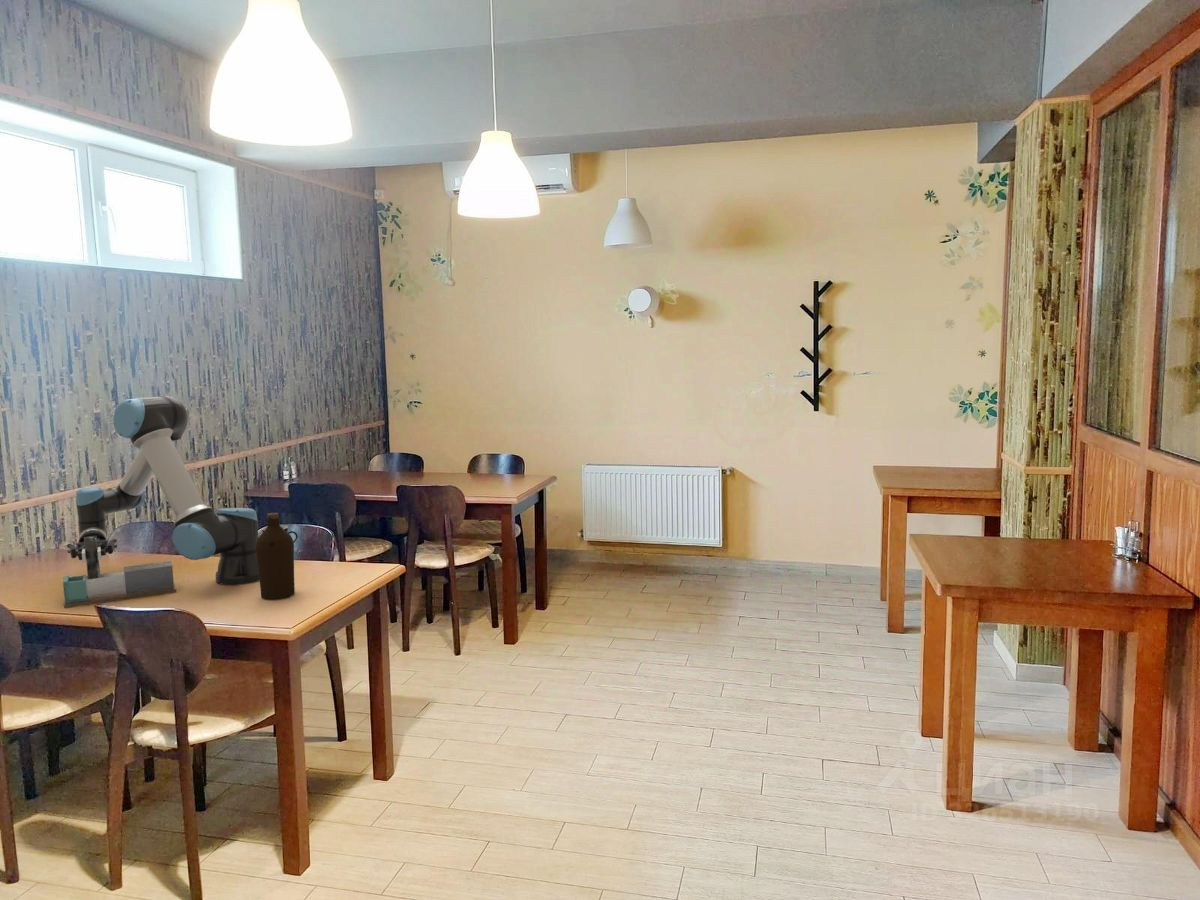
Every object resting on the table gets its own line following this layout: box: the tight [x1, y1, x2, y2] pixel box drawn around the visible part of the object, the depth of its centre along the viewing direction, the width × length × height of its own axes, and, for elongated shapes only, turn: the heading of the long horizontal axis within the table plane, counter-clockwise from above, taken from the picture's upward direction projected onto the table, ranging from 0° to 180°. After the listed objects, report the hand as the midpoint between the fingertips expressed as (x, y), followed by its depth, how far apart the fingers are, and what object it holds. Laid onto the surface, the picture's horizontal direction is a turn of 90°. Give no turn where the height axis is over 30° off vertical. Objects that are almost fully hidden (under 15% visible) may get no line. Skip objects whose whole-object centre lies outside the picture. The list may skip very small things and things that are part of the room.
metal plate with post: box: [83, 536, 126, 596], centre depth 251 cm, size 16×5×17 cm, turn 120°
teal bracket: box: [62, 574, 88, 604], centre depth 247 cm, size 6×7×6 cm
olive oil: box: [256, 512, 296, 601], centre depth 249 cm, size 11×11×25 cm
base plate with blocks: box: [63, 560, 177, 609], centre depth 253 cm, size 29×10×8 cm, turn 121°
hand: (91, 556), depth 244 cm, fingers closed on metal plate with post, 3 cm apart
